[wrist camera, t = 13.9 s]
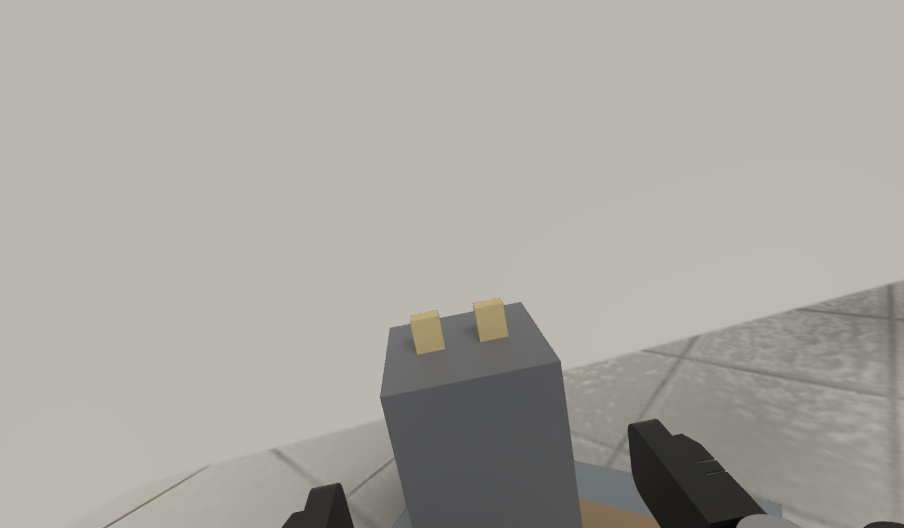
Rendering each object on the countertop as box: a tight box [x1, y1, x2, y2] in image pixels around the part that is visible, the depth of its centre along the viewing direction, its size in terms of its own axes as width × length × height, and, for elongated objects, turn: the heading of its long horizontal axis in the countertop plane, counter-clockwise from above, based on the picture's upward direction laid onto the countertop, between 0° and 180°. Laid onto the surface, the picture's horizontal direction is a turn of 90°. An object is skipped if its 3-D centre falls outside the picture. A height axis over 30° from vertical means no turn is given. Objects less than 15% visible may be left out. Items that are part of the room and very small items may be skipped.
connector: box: [380, 298, 583, 528], centre depth 15 cm, size 4×4×13 cm
